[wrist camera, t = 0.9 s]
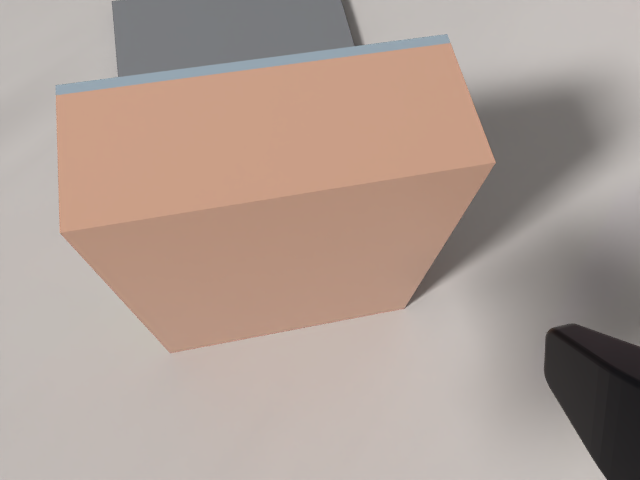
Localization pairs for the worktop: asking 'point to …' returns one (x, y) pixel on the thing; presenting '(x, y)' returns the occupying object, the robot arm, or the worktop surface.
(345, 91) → the tan flat block
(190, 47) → the mat
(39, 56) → the worktop surface
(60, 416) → the worktop surface
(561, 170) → the worktop surface
